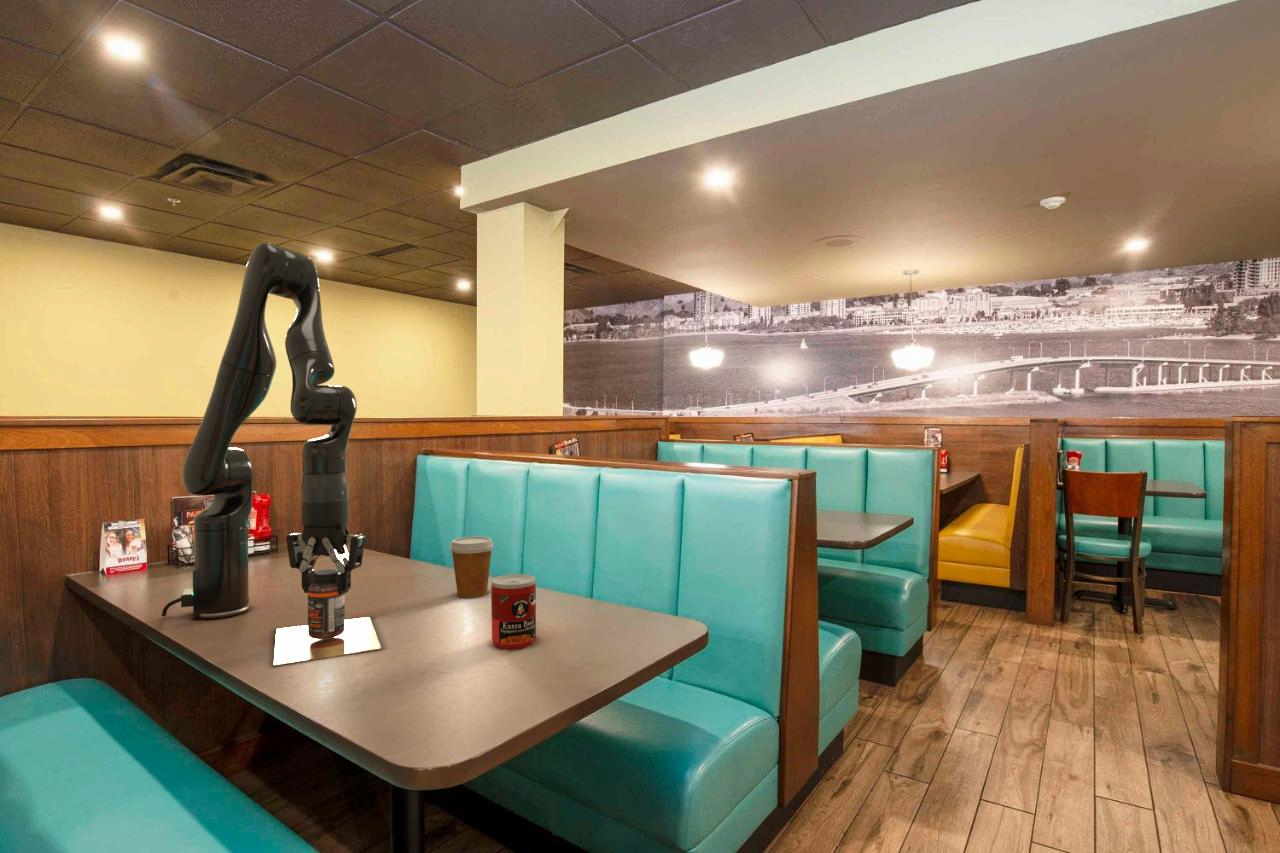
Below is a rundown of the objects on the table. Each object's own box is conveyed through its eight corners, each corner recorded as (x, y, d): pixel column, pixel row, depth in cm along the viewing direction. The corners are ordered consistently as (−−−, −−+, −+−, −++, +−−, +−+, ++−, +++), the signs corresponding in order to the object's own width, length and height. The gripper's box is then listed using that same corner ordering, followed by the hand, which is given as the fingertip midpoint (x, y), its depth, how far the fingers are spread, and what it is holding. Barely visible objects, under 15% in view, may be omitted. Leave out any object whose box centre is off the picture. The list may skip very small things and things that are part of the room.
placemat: (273, 666, 105) (273, 664, 105) (276, 630, 123) (276, 629, 123) (381, 649, 112) (381, 648, 112) (369, 617, 130) (369, 616, 130)
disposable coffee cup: (482, 600, 142) (482, 544, 142) (442, 598, 144) (441, 543, 144) (501, 589, 151) (500, 537, 151) (462, 587, 153) (461, 535, 153)
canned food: (498, 652, 111) (498, 587, 110) (486, 638, 118) (485, 576, 118) (542, 645, 114) (542, 581, 114) (528, 631, 121) (527, 571, 121)
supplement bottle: (299, 637, 116) (299, 573, 116) (327, 627, 122) (326, 566, 121) (325, 642, 114) (324, 576, 114) (352, 631, 119) (351, 569, 119)
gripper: (374, 496, 120) (375, 588, 120) (301, 495, 122) (302, 585, 122) (350, 501, 113) (351, 600, 113) (273, 500, 115) (274, 597, 115)
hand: (326, 592), depth 118 cm, fingers closed on supplement bottle, 6 cm apart
